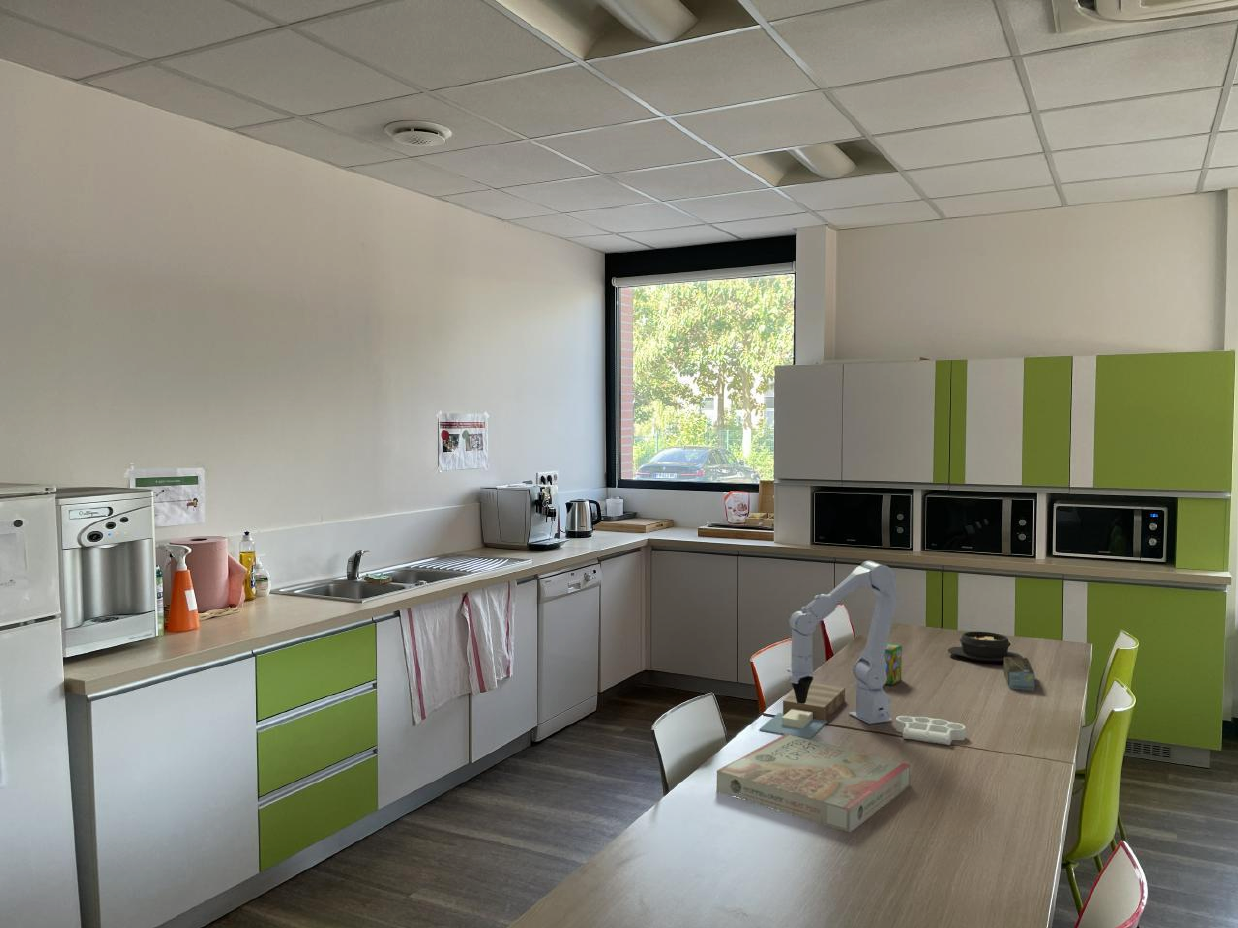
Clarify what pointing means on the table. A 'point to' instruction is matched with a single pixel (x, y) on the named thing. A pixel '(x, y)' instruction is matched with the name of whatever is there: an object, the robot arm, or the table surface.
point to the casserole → (984, 647)
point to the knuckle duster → (930, 729)
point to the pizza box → (815, 781)
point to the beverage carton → (1018, 673)
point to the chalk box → (893, 663)
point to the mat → (805, 732)
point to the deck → (817, 701)
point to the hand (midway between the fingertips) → (801, 702)
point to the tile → (797, 718)
